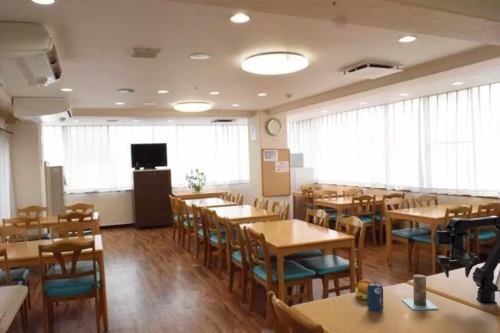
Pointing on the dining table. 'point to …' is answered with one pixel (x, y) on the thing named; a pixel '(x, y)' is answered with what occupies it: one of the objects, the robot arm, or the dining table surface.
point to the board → (415, 307)
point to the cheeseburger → (362, 289)
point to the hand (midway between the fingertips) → (457, 277)
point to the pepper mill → (419, 290)
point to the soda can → (375, 296)
